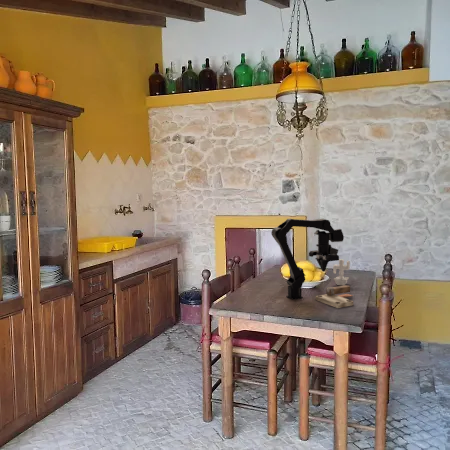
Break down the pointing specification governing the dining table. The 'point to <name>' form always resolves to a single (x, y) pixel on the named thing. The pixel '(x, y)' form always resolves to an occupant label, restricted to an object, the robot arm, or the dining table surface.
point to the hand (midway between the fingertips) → (323, 271)
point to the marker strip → (345, 295)
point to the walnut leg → (337, 290)
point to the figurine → (341, 272)
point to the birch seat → (334, 300)
